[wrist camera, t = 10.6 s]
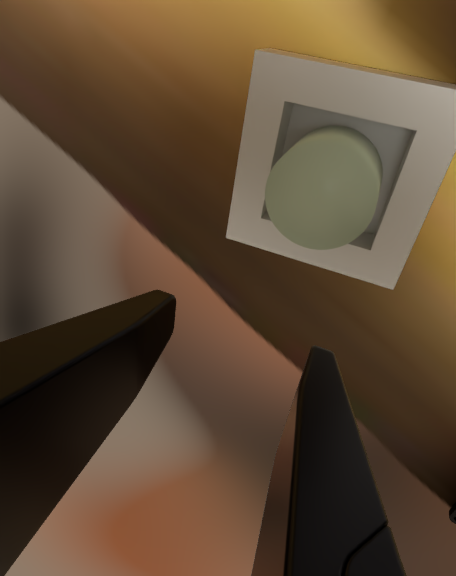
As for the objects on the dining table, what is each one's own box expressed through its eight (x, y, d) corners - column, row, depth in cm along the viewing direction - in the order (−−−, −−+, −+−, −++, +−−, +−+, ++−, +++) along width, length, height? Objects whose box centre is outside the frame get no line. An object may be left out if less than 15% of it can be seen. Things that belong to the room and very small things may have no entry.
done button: (364, 232, 18) (355, 263, 16) (276, 207, 19) (256, 232, 17) (397, 138, 16) (395, 157, 13) (296, 115, 17) (276, 129, 14)
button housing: (394, 269, 20) (393, 290, 18) (239, 222, 22) (225, 237, 20) (474, 88, 15) (481, 94, 14) (269, 47, 17) (254, 49, 16)
